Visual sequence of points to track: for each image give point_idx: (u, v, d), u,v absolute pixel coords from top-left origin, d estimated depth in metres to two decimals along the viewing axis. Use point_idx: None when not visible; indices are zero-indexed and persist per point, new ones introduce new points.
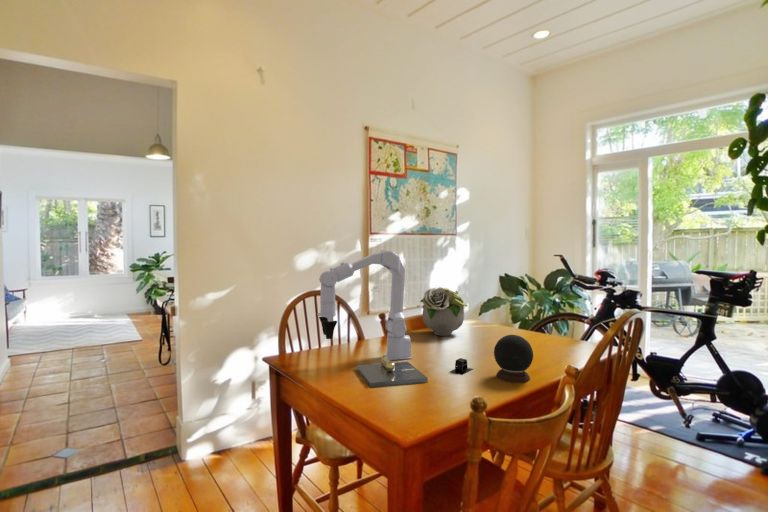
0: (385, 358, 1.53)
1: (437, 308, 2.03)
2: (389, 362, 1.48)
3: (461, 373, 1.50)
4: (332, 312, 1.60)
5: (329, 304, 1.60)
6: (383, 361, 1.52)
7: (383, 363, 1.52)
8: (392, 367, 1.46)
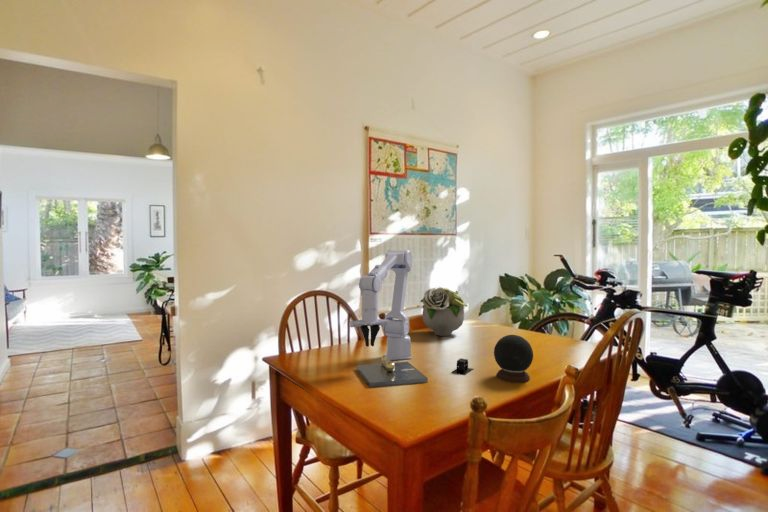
0: (385, 358, 1.53)
1: (437, 308, 2.03)
2: (389, 362, 1.48)
3: (463, 373, 1.49)
4: None
5: None
6: (383, 361, 1.52)
7: (383, 363, 1.52)
8: (392, 367, 1.46)
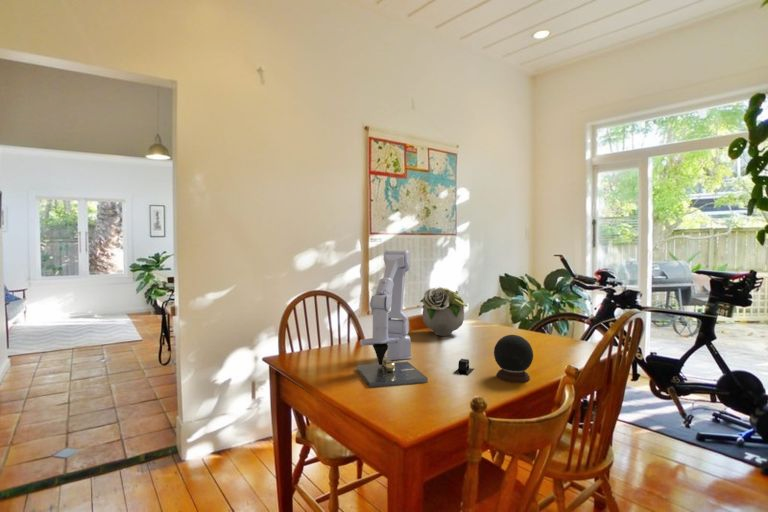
0: (385, 358, 1.53)
1: (437, 308, 2.03)
2: (389, 362, 1.48)
3: (466, 373, 1.49)
4: None
5: None
6: (383, 361, 1.52)
7: (383, 363, 1.52)
8: (392, 367, 1.46)
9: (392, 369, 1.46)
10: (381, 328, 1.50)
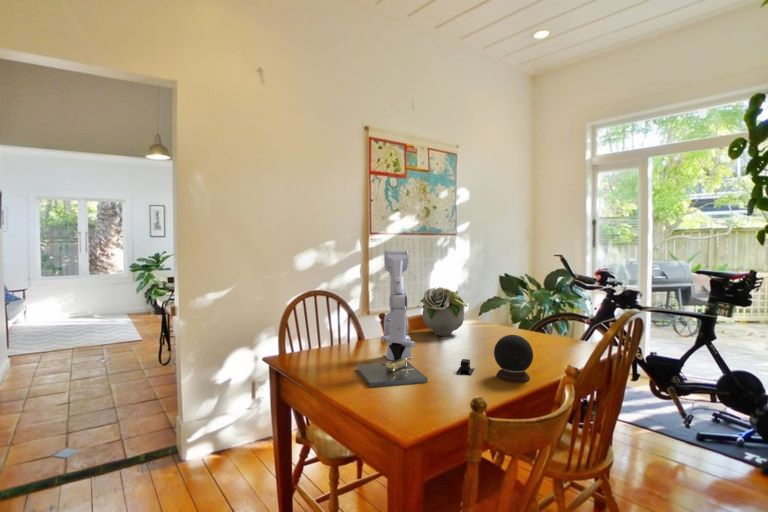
0: (401, 359, 1.52)
1: (437, 308, 2.03)
2: (392, 362, 1.48)
3: (469, 374, 1.49)
4: (405, 337, 1.52)
5: (404, 329, 1.51)
6: None
7: None
8: (388, 367, 1.46)
9: (388, 369, 1.46)
10: (392, 327, 1.51)
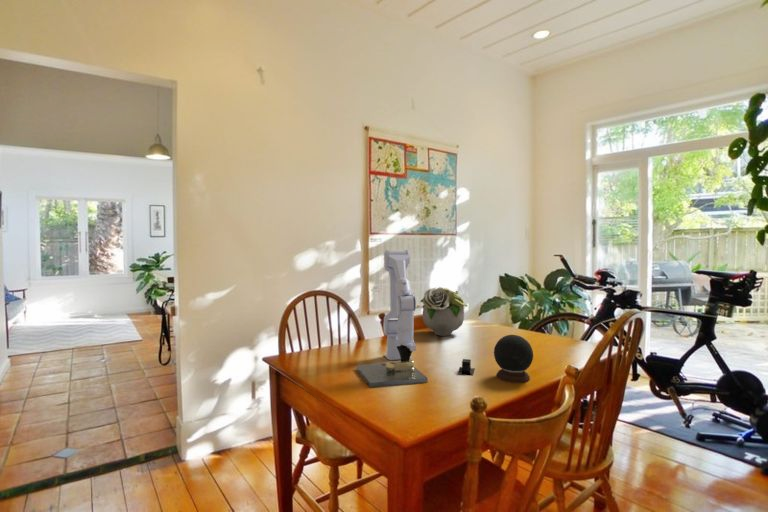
0: (406, 361, 1.49)
1: (437, 308, 2.03)
2: (392, 362, 1.47)
3: (470, 374, 1.49)
4: (411, 340, 1.49)
5: (408, 331, 1.48)
6: None
7: None
8: (387, 367, 1.46)
9: (387, 369, 1.46)
10: (398, 328, 1.50)
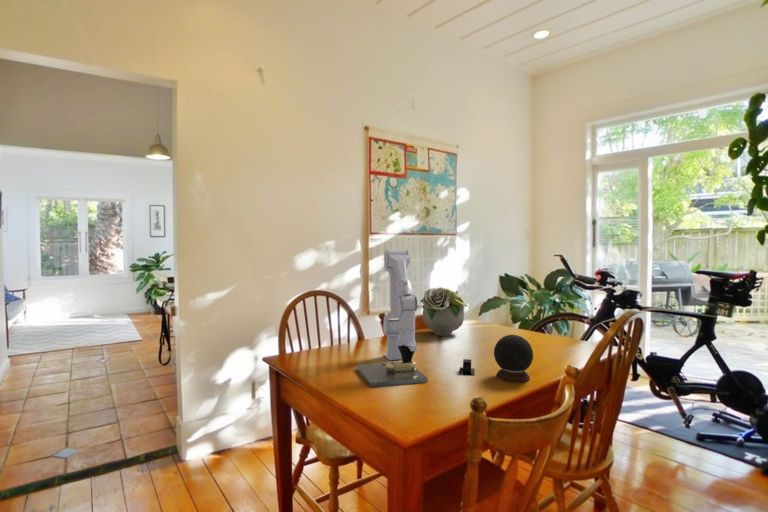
0: (407, 362, 1.48)
1: (437, 308, 2.03)
2: (393, 363, 1.47)
3: (472, 374, 1.49)
4: (413, 340, 1.48)
5: (409, 332, 1.47)
6: None
7: None
8: (386, 366, 1.47)
9: (386, 368, 1.47)
10: (399, 328, 1.50)
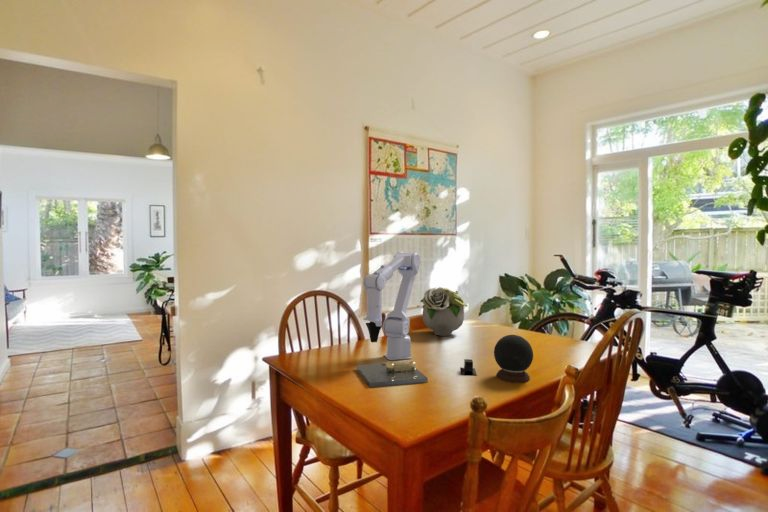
0: (407, 362, 1.48)
1: (437, 308, 2.03)
2: (393, 363, 1.47)
3: (474, 374, 1.49)
4: (379, 317, 1.55)
5: (376, 308, 1.54)
6: None
7: None
8: (386, 366, 1.47)
9: (386, 368, 1.47)
10: None
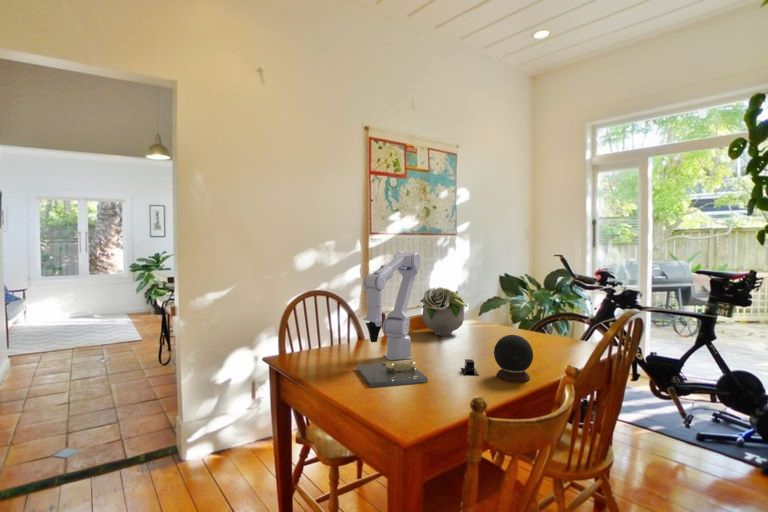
0: (407, 362, 1.48)
1: (437, 308, 2.03)
2: (393, 363, 1.47)
3: (476, 374, 1.49)
4: (379, 317, 1.55)
5: (376, 308, 1.54)
6: None
7: None
8: (386, 366, 1.47)
9: (386, 368, 1.47)
10: None
